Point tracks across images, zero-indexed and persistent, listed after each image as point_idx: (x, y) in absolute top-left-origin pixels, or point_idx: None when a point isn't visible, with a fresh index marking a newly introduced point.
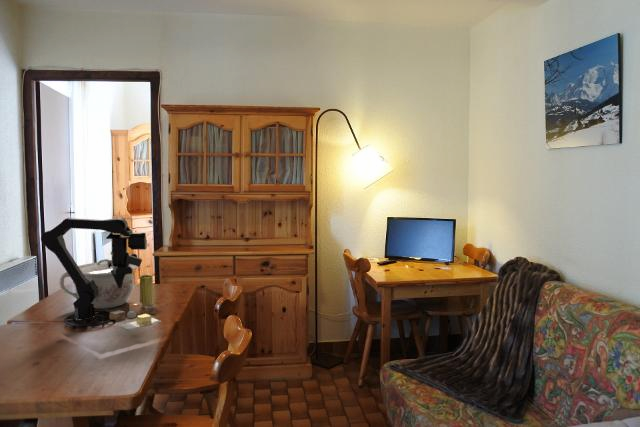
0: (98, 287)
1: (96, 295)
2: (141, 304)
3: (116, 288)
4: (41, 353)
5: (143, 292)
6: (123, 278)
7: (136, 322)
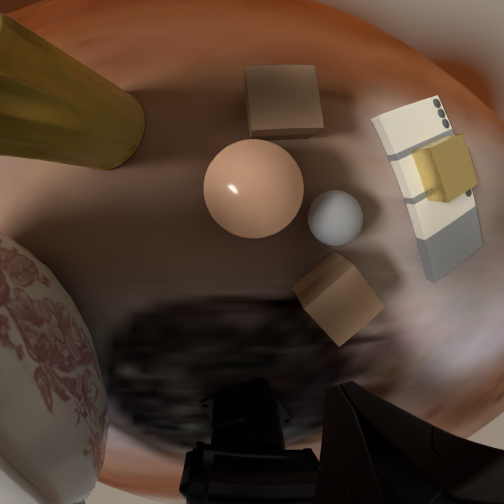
0: (213, 500)
1: (271, 469)
2: (275, 145)
3: (44, 354)
4: (470, 412)
5: (79, 123)
6: (463, 440)
7: (430, 201)
